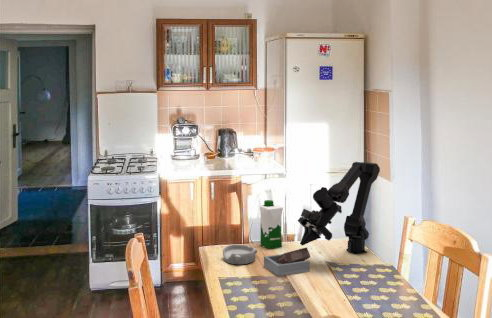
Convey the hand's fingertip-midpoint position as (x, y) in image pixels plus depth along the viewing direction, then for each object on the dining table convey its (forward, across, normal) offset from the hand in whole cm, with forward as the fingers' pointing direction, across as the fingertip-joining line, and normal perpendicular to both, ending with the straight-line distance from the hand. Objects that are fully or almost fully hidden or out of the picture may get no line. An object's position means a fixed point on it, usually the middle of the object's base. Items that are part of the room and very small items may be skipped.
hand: (301, 244), depth 221 cm
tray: (+10, 0, +2) cm, 11 cm away
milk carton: (+6, -30, +7) cm, 31 cm away
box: (+2, -1, +5) cm, 5 cm away
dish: (+20, -18, -7) cm, 28 cm away
